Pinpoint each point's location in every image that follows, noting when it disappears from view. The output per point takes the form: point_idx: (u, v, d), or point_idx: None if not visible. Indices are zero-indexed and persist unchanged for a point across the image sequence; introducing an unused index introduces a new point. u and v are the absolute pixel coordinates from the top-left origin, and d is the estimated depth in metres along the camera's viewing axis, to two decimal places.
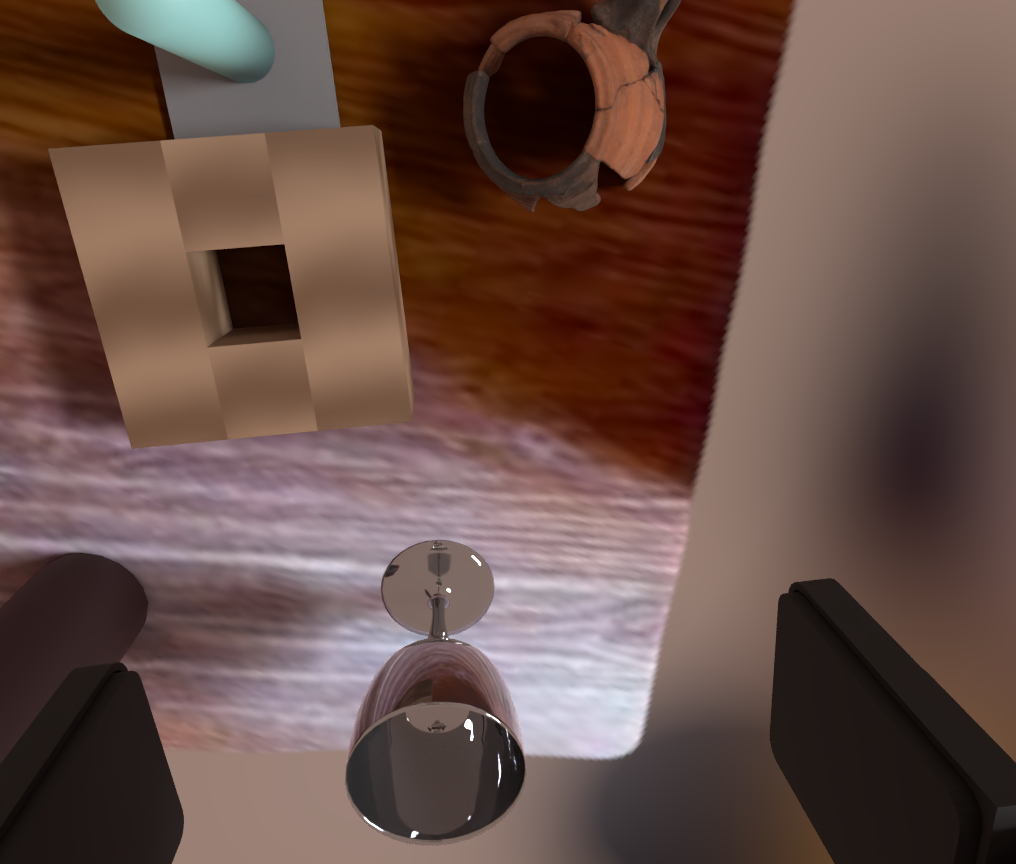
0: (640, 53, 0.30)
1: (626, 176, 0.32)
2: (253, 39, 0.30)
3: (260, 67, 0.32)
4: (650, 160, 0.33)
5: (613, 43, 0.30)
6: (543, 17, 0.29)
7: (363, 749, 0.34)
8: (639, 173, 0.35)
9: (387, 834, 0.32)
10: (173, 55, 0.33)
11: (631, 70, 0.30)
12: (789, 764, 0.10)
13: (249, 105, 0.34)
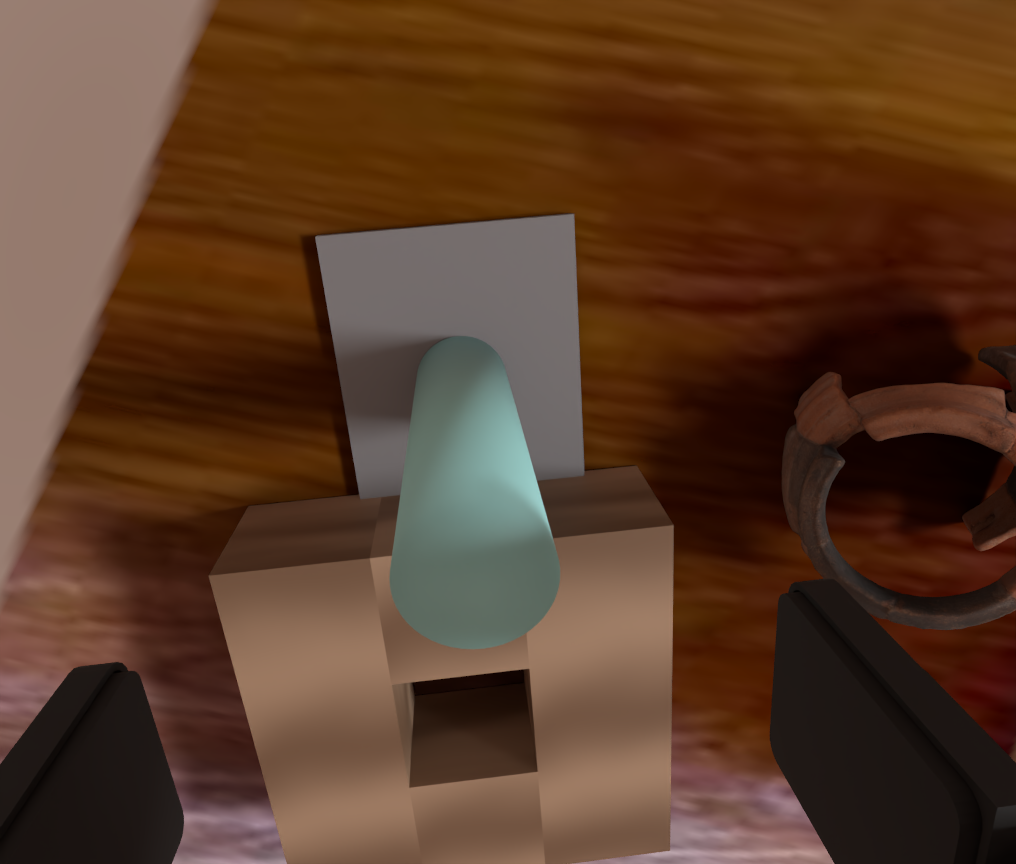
0: None
1: None
2: None
3: None
4: None
5: None
6: (967, 417, 0.20)
7: None
8: (1004, 537, 0.25)
9: None
10: (366, 392, 0.23)
11: None
12: (789, 764, 0.10)
13: None
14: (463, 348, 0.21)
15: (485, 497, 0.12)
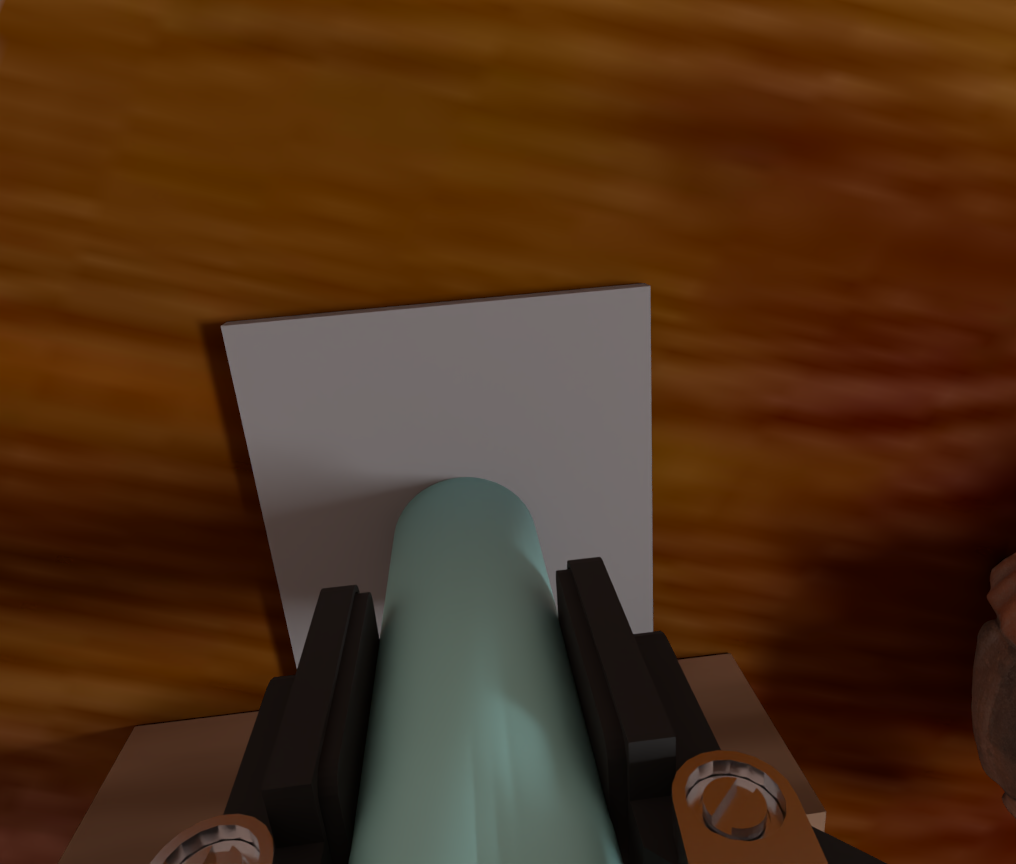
0: None
1: None
2: None
3: None
4: None
5: None
6: None
7: None
8: None
9: None
10: (312, 564, 0.15)
11: None
12: None
13: None
14: (469, 513, 0.13)
15: None
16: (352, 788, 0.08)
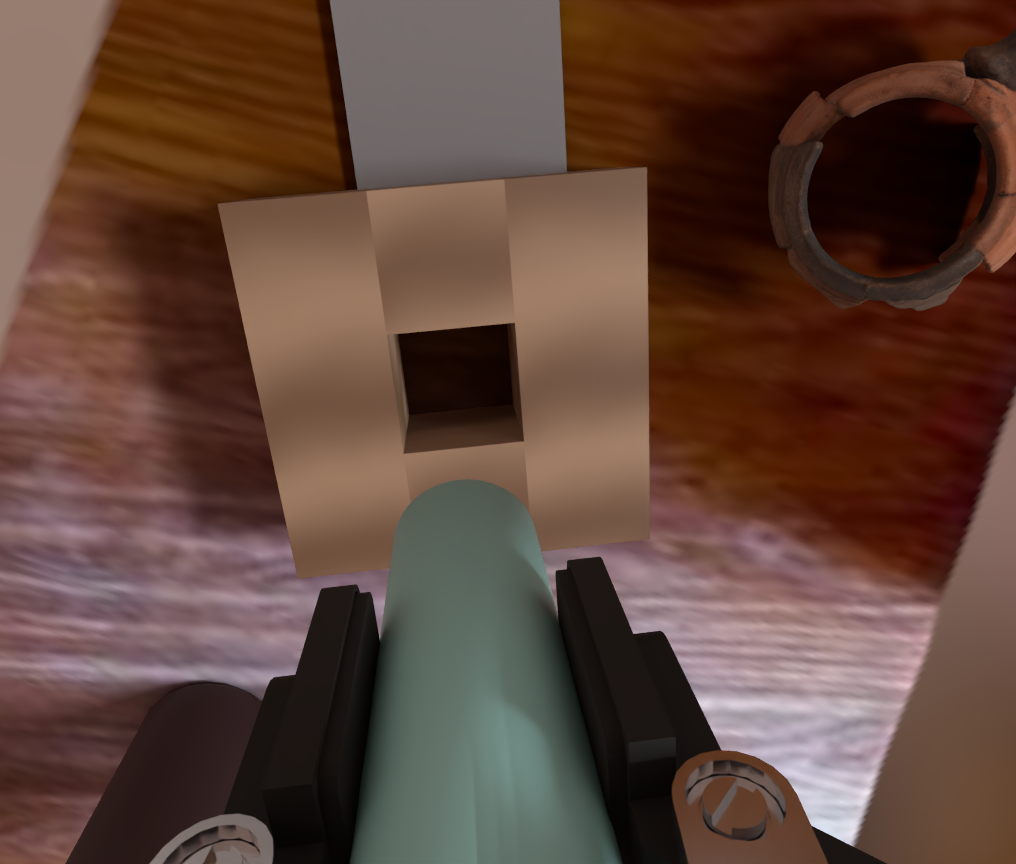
0: None
1: (996, 269, 0.25)
2: None
3: None
4: None
5: (1015, 104, 0.22)
6: (929, 74, 0.22)
7: None
8: None
9: None
10: (362, 73, 0.25)
11: None
12: None
13: (455, 136, 0.26)
14: (469, 516, 0.13)
15: None
16: (352, 788, 0.08)
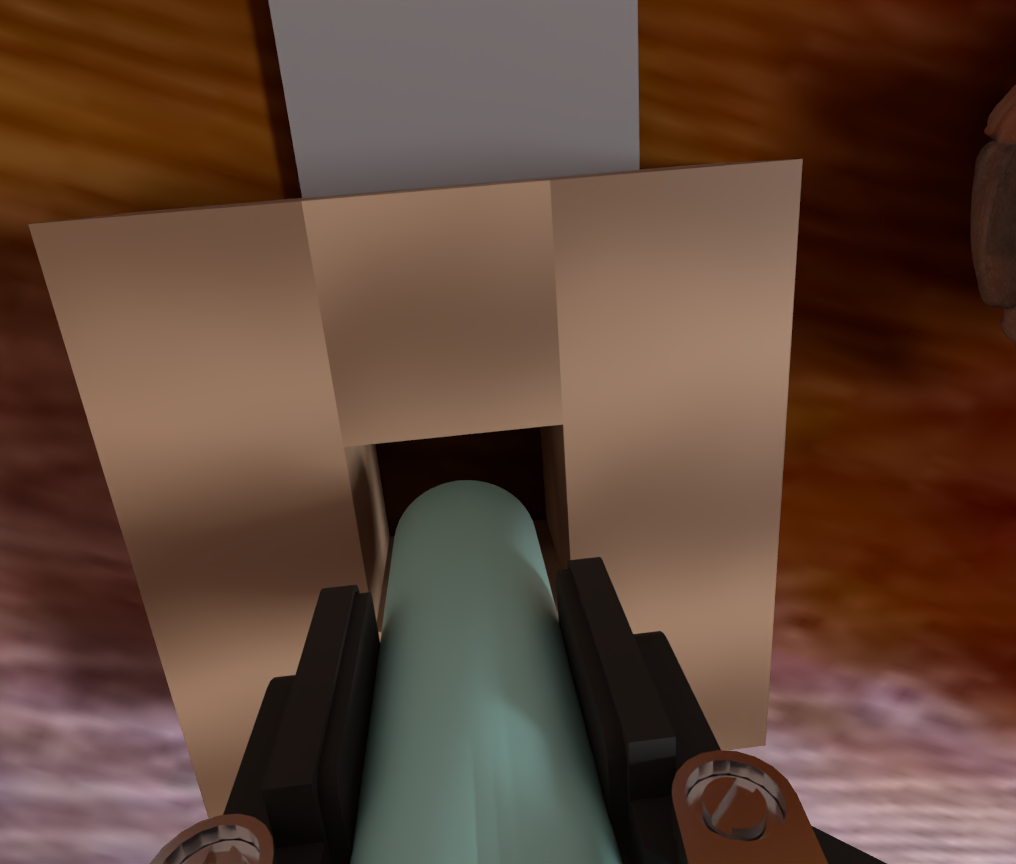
0: None
1: None
2: None
3: None
4: None
5: None
6: None
7: None
8: None
9: None
10: (306, 4, 0.15)
11: None
12: None
13: (460, 112, 0.16)
14: (469, 516, 0.13)
15: None
16: (352, 788, 0.08)
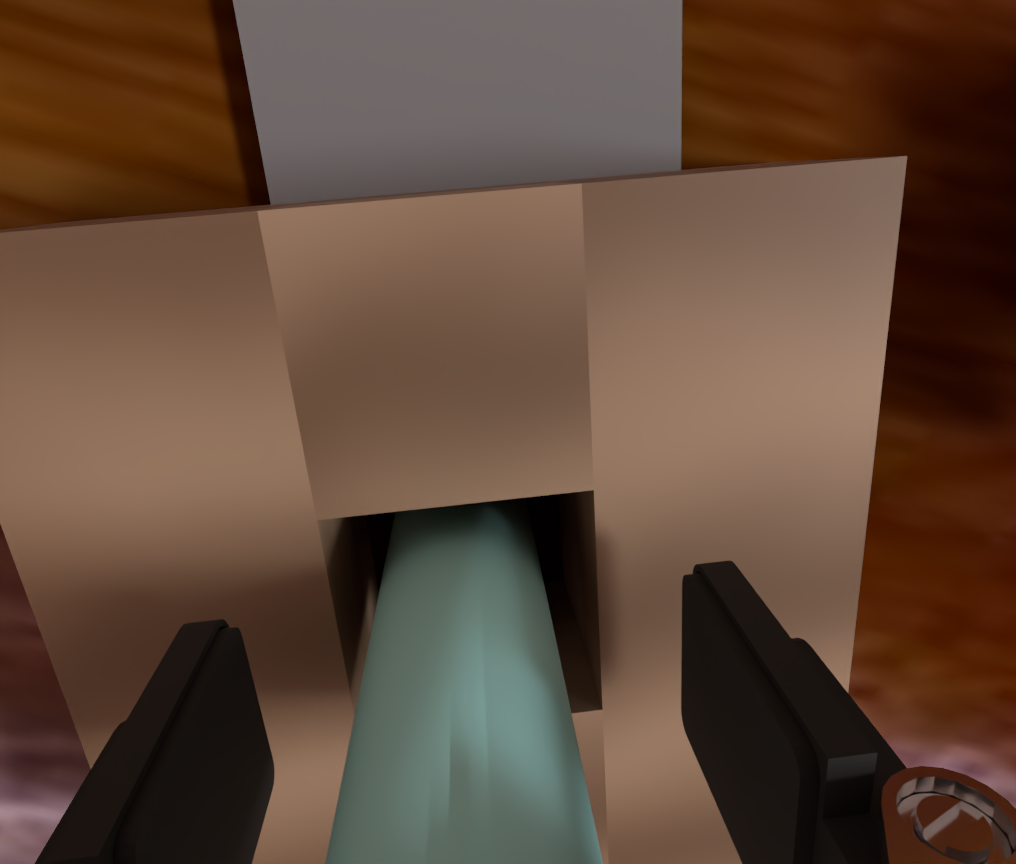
0: None
1: None
2: None
3: None
4: None
5: None
6: None
7: None
8: None
9: None
10: None
11: None
12: (694, 736, 0.11)
13: (464, 99, 0.13)
14: None
15: None
16: (171, 850, 0.08)
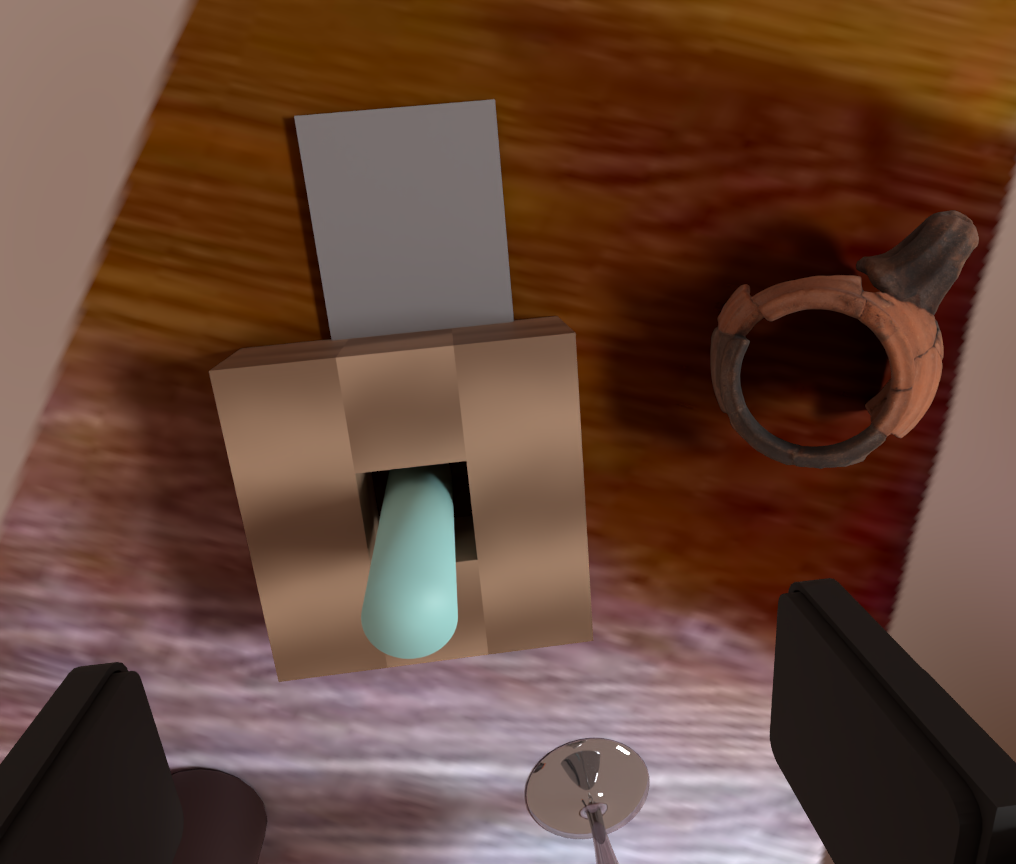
0: (929, 317, 0.27)
1: (903, 436, 0.29)
2: None
3: None
4: None
5: (903, 313, 0.27)
6: (829, 293, 0.27)
7: None
8: None
9: None
10: (335, 247, 0.29)
11: (923, 339, 0.27)
12: (789, 764, 0.10)
13: (415, 295, 0.30)
14: None
15: (413, 571, 0.22)
16: None
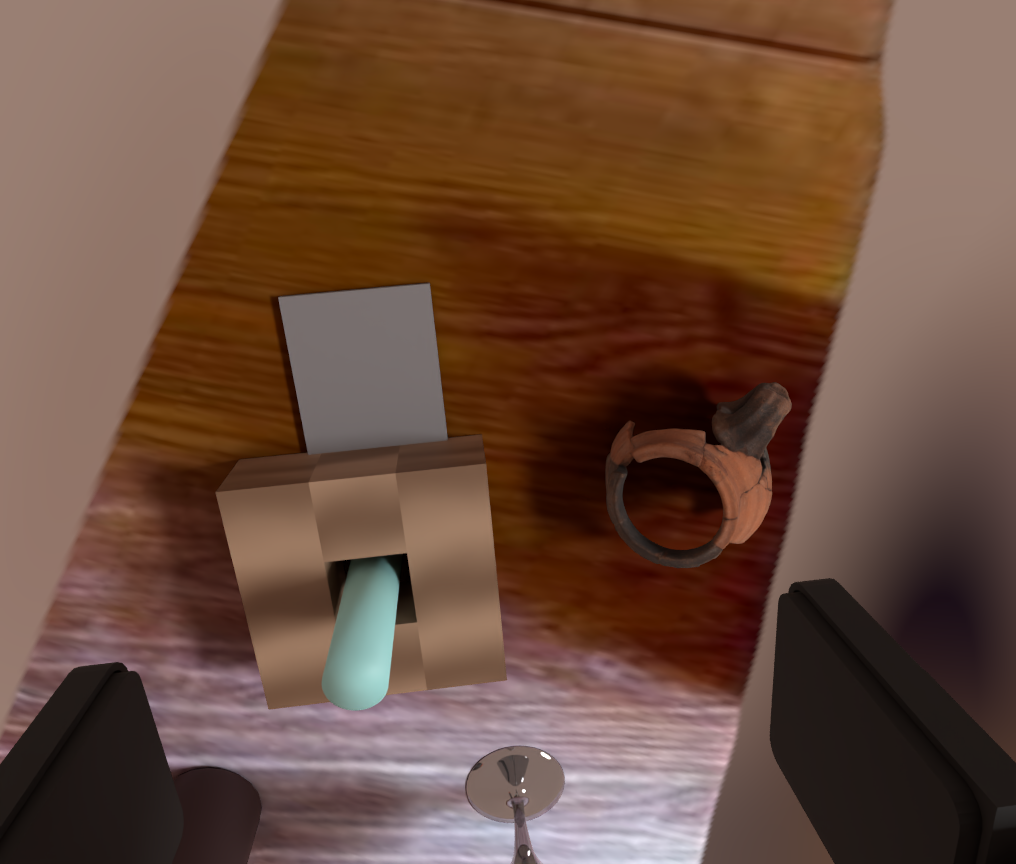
0: (755, 462, 0.37)
1: (743, 542, 0.39)
2: (398, 589, 0.40)
3: None
4: None
5: (734, 460, 0.37)
6: (678, 448, 0.36)
7: None
8: None
9: None
10: (310, 388, 0.39)
11: (749, 479, 0.37)
12: (789, 764, 0.10)
13: (372, 422, 0.40)
14: None
15: (357, 653, 0.32)
16: None
